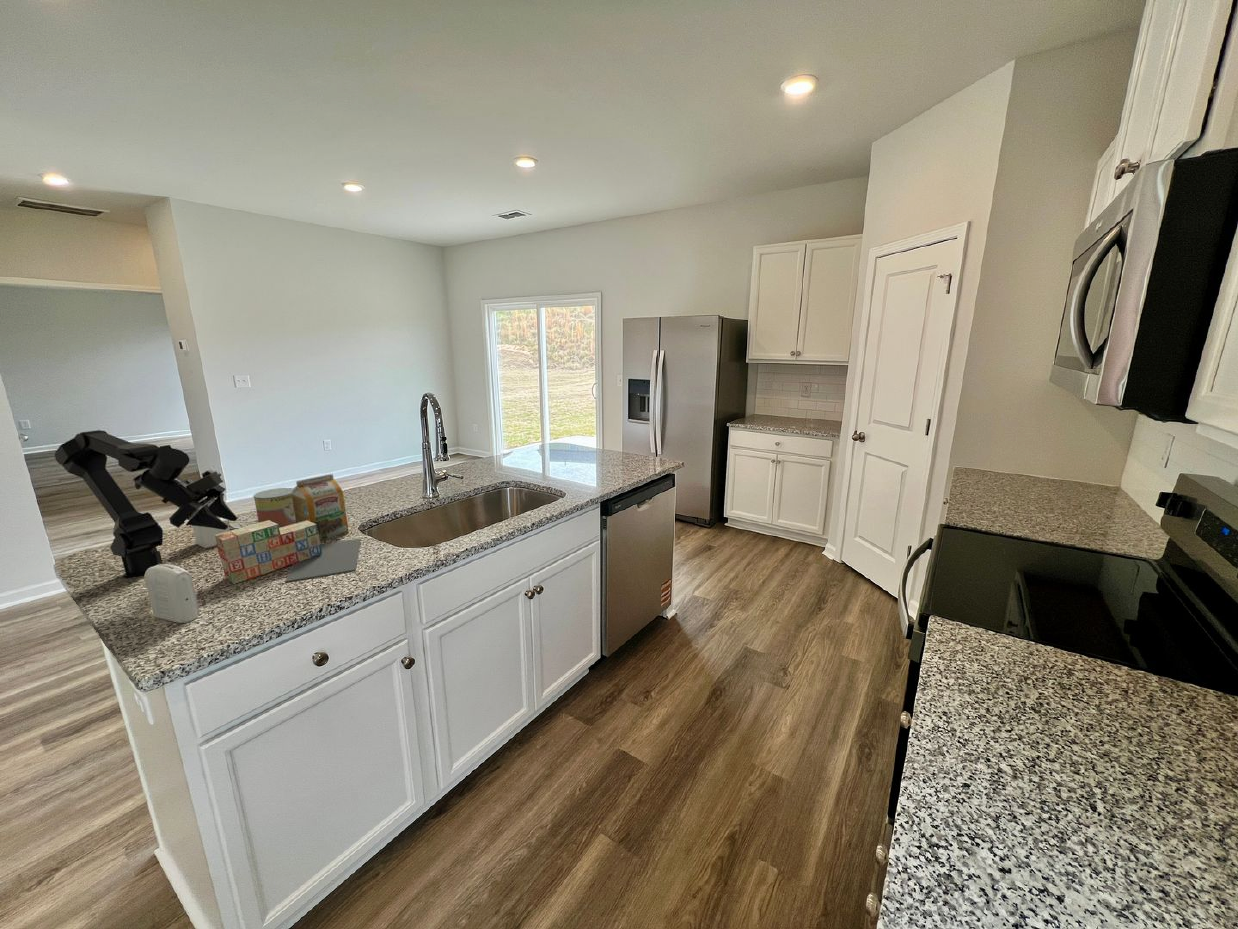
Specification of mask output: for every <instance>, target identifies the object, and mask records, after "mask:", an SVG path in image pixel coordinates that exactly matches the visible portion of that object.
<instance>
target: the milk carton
mask: <svg viewBox="0 0 1238 929" xmlns="http://www.w3.org/2000/svg"><path fill="white" fill-rule="evenodd" d="M292 489H293V491H292V494H291V495H292V500H293V506H294V512H295V518H296V524H297V523H300V522H303V521H310V522H312V523H314V524H316V525H317V530H318V534H319V538H320V543H321V542H323V541H328V540H331V539H333V538H334V539H335V538H337V537H340V536H344V535H347V534H349V532H350V531H349V525H348V519H347V518H348V517H347V510H346V505H345V503H346V502H345V498H344V491H343V489H342V487H341V486H340V485H339V483H338V482H337V481H336V480H335V478H334V475H333V473H330V474H325V475H321V476H315V477H310V478H305V479H301V480H296V486H294V488H292Z"/></svg>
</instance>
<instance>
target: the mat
mask: <svg viewBox="0 0 1238 929" xmlns="http://www.w3.org/2000/svg"><path fill="white" fill-rule="evenodd" d="M320 544H321V549H322V554H321V555H318V556H315V557H312V558H309V559H306V560H303V561H300V562H297V563H294V564H291V567H290V570H289V572H288V575H287V576H286V579H285V583H291V582H296V581H302V580H308V579H315V578H319V577H320V578H321V577H326V576H333V575H339V574H344V573H345V574H346V573H349V572H350V573H351V572H355V571H357V569H358V568H357V567H358V559H359V553H360V548H361V547H360V546H361V538H354V539H348V540H341V541H333V542H327V543H320Z"/></svg>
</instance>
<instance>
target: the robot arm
mask: <svg viewBox="0 0 1238 929" xmlns="http://www.w3.org/2000/svg"><path fill="white" fill-rule="evenodd" d="M108 457H110V458H113V459H115V460H117V461H118V462H117V463H118V466H119V467H121V468H122V469H124V470H125V471H127V472H128V473H134V472H139V471H143V472H142V473H141V474H139V475H137V476H136V477H134V478H133V479H132V480H133V482H134V487H135V489H136V490H140V489H141V488H145V490H149V491H150V492H152V493H153V494H155V495H156V496H159V497H160V498H162V500H161V503H163V504H167V503H170V504H172V505H174V506H175V507H178V509H176V511H175V512H174V513H173V514H172V515H171V516H170V517H169V518H168V519H169V520H168V521H169V524H170V525H172V526H174V527H175V528H178V529H179V528H180V527H182V526H183V525H185V526H186V527H187V526H188V527H189V526H192V525H193V526H202V527H210V528H216V529H223V530H225V529H227V528H228V525H226V524H225V523H224V522H223V521H221V520H220V519H219V518H217V517H220V518H223V519H227V520H229V522H236V521H238V517H237V515H236V514H235V513H234V512H233V511H232V510H231V509H230V507H229V506H227V504H226V503H225V500H224V496H225V493H224V492H225V491H226V488H225V487H223V486H222V485H220V484H221V483H223V482H224V480H223V479H222V478H221V476H222V474H221V473H220V472H218V471H216V470H215V471H214V470H212V469H208V470H206V471H204V472H202V474H201V476H202V477H201V478H199V479H196V480H195V481H194V480H192V479H190V478H189V479H188V478H186V479H185V480H183V479H181V477H180V476H181V475H182V473H183V471H184V470H185V469H186V468H187V466H188V465H189V464H190V461H191V460H190V456H189V454H187V453H185V451H182V450H180V449H177V448H172V446H171V445H170V444H167V445H161V446H158V445H157V444H150V443H133V442H130V441H127V440H125V439H122V438H120V437H118V436H114V435H111V434H109V433H108V432H107V431H105V430H101V429H97V430H88V431H83V432H79V433H77V434H76V435H75V436H74V437H73V438H71V439H69V440H68V441H66V442H64V443H62V444H60V445H59V447H58V448H57V449H56V451H55V453H54V458H55V461H56V462H57V464H59V465H60V466H62V467H63V468H64V470H66V472H67V473H68V474H72V475H74V476H76V477H79V478H81V479H83V481H84V482H85V483H86V485H87V486H88V488H89V489H90V490H91V492H92V493H93V494H94V496H95V497H96V499H97V500H98V501H99V502H100V504H101V506H102V507H103V508H104V510H105V511H106V512H107V513H108V515H109V517H110V518H111V519H112V521H113V522H114V525H113V526H114V527H113V532H112V535H113V537H114V539H113V541H112V543H111V545H110V551H111V552H112V554H113V555H114V556H118V557H121V561H122V565H123V569H124V572H125V573H124V574H123V575H122V578H123V579H124V578H126V579H127V578H130V577H137V576H144V575H145V572H146V571H147V569H148V568H150V567H153V566H156V565H160V564H164V562H163V560H162V559H163V558H162V556H161V551H160V550H158V549H157V547H159V546H162V545H163V543H164V540H163V538H164V537H163V536H164V535H163V534H164V530H163V528H162V527H161V525H160V524H159V522H157V521H156V520H155V518H154V517H153V515H152V513H150V512H148V511H147V512H139V511H137V509H136V508H135V506H134V505H133V504H132V502H131V501H130V500H129V498H128V497H127V495H126V494H125V493H124V491H123V490H122V488H121V487H120V485H118V483H117V481H116V480H115V479H114V478H113V476H112V475H111V474H110V472H109V471H108V469H107V468H106V466H107V460H108ZM216 516H217V517H216ZM186 521H187V522H186ZM185 523H186V524H185Z"/></svg>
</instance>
